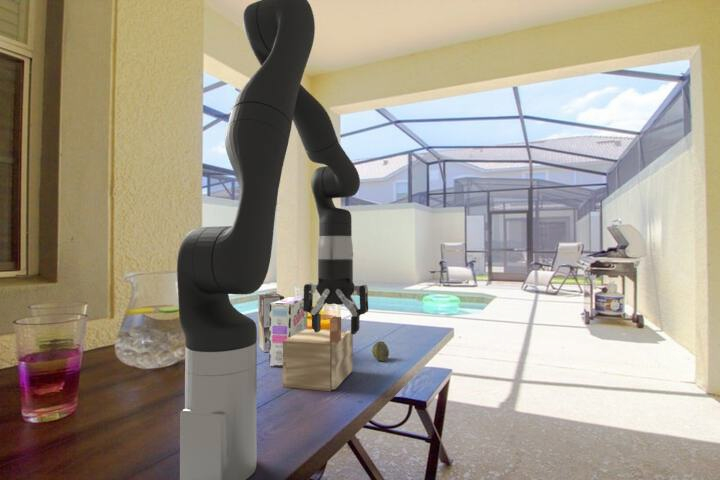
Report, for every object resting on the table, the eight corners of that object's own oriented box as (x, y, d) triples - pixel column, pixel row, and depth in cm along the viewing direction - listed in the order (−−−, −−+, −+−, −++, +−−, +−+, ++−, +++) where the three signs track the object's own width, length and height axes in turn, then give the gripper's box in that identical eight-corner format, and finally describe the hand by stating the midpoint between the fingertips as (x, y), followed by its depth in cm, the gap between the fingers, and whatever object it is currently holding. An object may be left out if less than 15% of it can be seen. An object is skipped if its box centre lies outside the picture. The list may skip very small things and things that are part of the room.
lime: (388, 358, 112) (388, 339, 112) (388, 362, 107) (388, 343, 107) (372, 357, 112) (372, 339, 112) (371, 362, 107) (371, 343, 107)
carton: (330, 391, 86) (330, 343, 86) (282, 386, 88) (282, 340, 89) (348, 371, 99) (348, 330, 100) (306, 368, 102) (306, 328, 102)
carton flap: (336, 389, 85) (336, 319, 86) (329, 389, 86) (329, 319, 86) (354, 370, 99) (354, 309, 99) (348, 369, 100) (348, 309, 100)
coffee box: (285, 350, 120) (285, 296, 121) (263, 352, 118) (263, 297, 118) (277, 343, 129) (277, 293, 129) (257, 346, 126) (257, 294, 126)
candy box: (290, 368, 102) (290, 303, 103) (268, 367, 104) (268, 302, 104) (307, 354, 116) (307, 296, 116) (288, 353, 117) (288, 296, 117)
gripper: (298, 257, 86) (298, 334, 86) (363, 257, 82) (363, 338, 82) (310, 256, 93) (311, 327, 93) (371, 257, 90) (371, 330, 89)
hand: (335, 332), depth 88 cm, fingers open, 8 cm apart
